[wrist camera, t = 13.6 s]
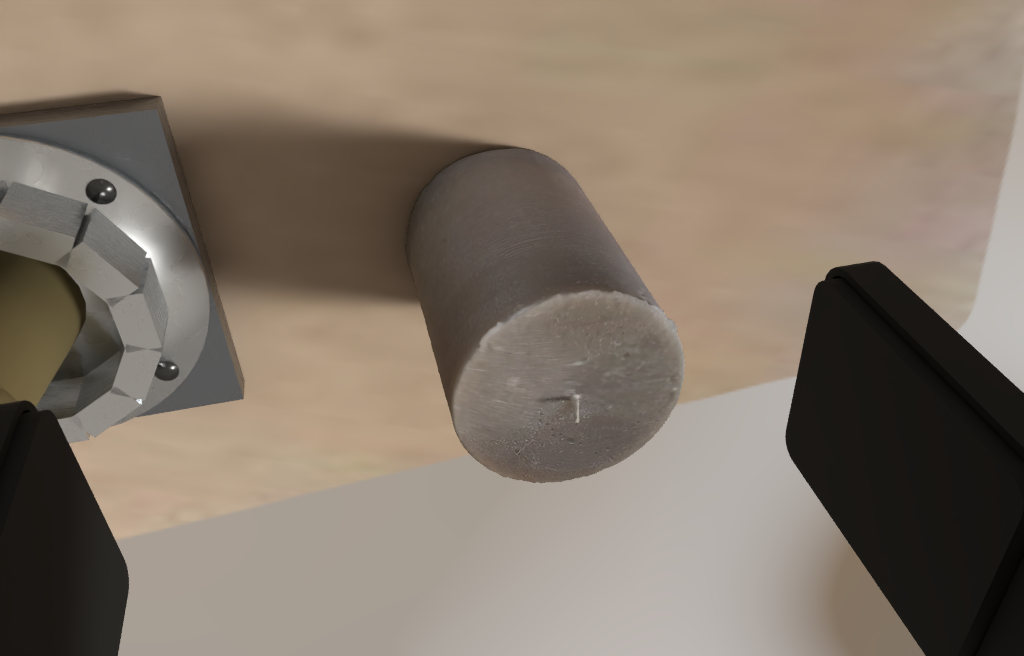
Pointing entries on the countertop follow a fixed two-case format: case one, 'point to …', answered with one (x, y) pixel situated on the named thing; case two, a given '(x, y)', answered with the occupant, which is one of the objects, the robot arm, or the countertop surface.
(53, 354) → the olive knobbed peg
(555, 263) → the pillar candle
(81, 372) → the rosette plate
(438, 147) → the countertop surface
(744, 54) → the countertop surface
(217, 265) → the countertop surface
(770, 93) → the countertop surface
